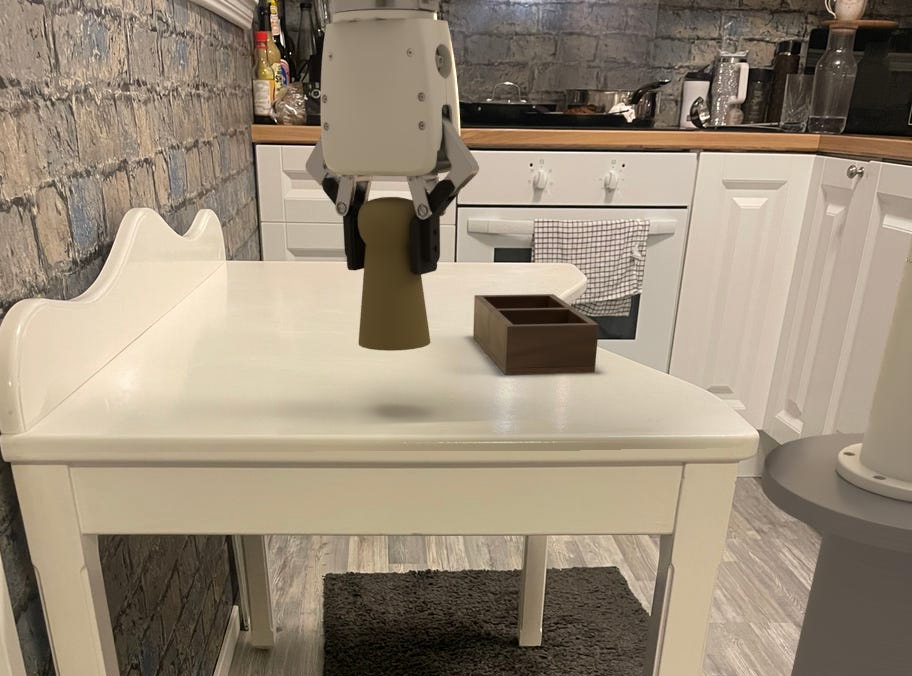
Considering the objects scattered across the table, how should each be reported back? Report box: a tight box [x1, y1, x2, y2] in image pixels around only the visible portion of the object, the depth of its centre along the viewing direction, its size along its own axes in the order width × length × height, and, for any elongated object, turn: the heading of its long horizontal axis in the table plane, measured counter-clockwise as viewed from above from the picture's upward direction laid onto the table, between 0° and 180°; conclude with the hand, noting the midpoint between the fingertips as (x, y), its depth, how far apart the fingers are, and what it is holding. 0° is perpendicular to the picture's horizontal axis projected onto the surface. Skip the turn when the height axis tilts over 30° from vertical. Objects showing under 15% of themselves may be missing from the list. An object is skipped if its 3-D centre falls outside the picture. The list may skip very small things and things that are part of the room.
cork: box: [358, 196, 431, 352], centre depth 77 cm, size 6×6×11 cm
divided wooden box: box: [472, 293, 600, 376], centre depth 100 cm, size 17×9×5 cm, turn 8°
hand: (392, 267), depth 76 cm, fingers closed on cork, 5 cm apart
